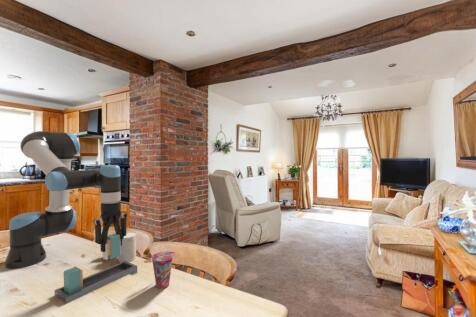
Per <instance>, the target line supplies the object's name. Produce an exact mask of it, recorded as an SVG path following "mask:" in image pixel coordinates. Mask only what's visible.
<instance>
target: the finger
mask: <svg viewBox="0 0 476 317" xmlns="http://www.w3.org/2000/svg"><path fill="white" fill-rule="evenodd" d="M106 243H107V244H108V260H114V259H116V258H118V257H119V256H120V235H118V234H116V233H112V234H108V235H107V240H106Z"/></svg>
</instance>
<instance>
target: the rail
mask: <svg viewBox="0 0 476 317" xmlns="http://www.w3.org/2000/svg"><path fill="white" fill-rule="evenodd" d="M137 273H138V265H136V264H133V263H131V262H127V261H124V262H119V263H117V264H115V265H112V266H109V267H106V268H105V269H103V270H100V271H98V272H95V273H93V274H90V275H88V276H85V277H83V287H81V290H79V291H77V292H74V293H72V294H70V295H67V294H66V293H64V286H62V287H58V288H57V289H54V296H55V298H57V299H58V300H60V301H62V302H63V303H64V304H66V305H67V304H69V303H71V302H73V301H75V300H77V299H79V298H82V297H83V296H86V295H89V294H90V293H92V292H94V291H96V290H99V289H101V288H103V287H104V286H105V287H106V286H107V285H110V284H112V283H113V282H116V281H118V280H121V279H123V278H124V277H127V276H128V275H131V276H133V275H135V274H137Z"/></svg>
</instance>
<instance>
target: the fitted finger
mask: <svg viewBox="0 0 476 317" xmlns="http://www.w3.org/2000/svg"><path fill="white" fill-rule="evenodd" d="M83 272H84V270H83V269H81V268H80V267H77V266H74V267H70V268H68V269H65V270H63V287H64V293H66V294H67V295H70V294H72V293H74V292H77V291H79V290H81V287H83V278H84V277H83V276H84V274H83Z"/></svg>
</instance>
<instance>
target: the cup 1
mask: <svg viewBox="0 0 476 317" xmlns="http://www.w3.org/2000/svg"><path fill="white" fill-rule="evenodd" d="M117 258H118V260H117V261H118V262H119V263H122V262H124V261H127V262H129V263H131V262H133V261H135V260H136V259H137V234H136V233H135V232H126V236H124V238H123V239H122V246H121V254H120V256H119V257H117ZM134 259H135V260H134ZM132 260H133V261H132Z"/></svg>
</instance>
